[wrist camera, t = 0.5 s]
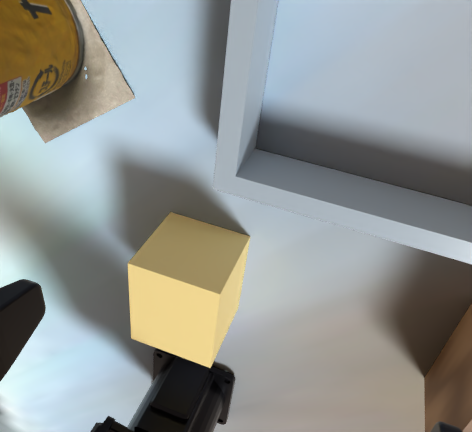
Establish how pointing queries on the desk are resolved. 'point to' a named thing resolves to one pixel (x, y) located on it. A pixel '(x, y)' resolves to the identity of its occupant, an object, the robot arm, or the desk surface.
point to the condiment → (55, 66)
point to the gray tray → (310, 175)
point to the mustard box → (186, 287)
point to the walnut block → (451, 380)
